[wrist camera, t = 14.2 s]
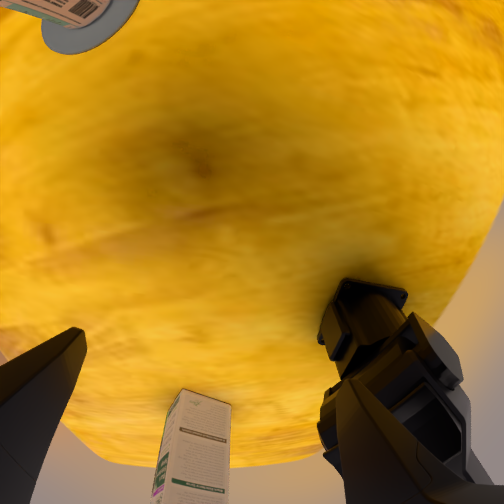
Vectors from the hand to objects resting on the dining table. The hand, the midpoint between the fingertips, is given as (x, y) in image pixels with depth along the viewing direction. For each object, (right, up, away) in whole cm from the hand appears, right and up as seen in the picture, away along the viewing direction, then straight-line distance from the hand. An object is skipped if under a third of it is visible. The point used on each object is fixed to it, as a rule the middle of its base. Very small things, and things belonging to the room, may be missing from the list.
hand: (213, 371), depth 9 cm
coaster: (-11, +22, +4) cm, 25 cm away
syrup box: (-5, -13, +20) cm, 25 cm away
